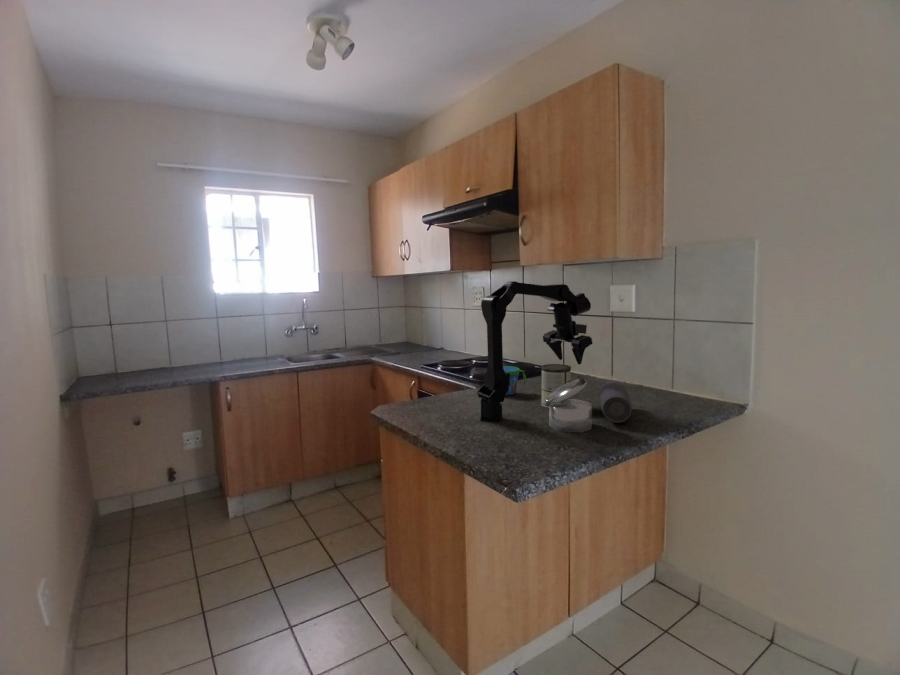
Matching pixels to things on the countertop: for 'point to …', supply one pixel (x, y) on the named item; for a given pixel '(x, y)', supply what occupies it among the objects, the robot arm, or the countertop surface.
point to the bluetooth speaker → (615, 402)
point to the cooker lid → (566, 391)
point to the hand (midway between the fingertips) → (570, 361)
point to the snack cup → (513, 378)
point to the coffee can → (553, 379)
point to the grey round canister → (571, 416)
